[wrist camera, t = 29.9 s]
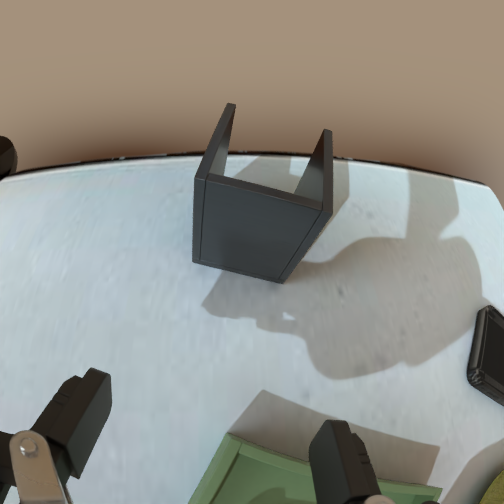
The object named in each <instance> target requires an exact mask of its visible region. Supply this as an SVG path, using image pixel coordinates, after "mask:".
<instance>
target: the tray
mask: <svg viewBox="0 0 504 504" xmlns="http://www.w3.org/2000/svg"><path fill="white" fill-rule="evenodd" d="M376 479H377V482H378V485H379V488H380V491H381V493H382V495H384V496H387V497H389V498H391V499H392V500H393V501H394V502H395V504H421V503H423V502H425V501H429V500H430V501H435V502H437V501H438V499H439V497H440V494H441V492H442V489H443V488H438V487H432V486H426V485H421V484H412V483H404V482H396V481H390V480H383V479H378V478H376ZM188 504H317V501H316V495H315V489H314V483H313V478H312V472H311V466H310V463H309V462H306V461H303V460H299V459H296V458H293V457H290V456H287V455H284V454H281V453H278V452H275V451H272V450H270V449H267V448H264V447H261V446H259V445H256V444H254V443H251V442H248V441H246V440H243V439H241V438H239V437H236V436H234V435H231V434H229V433H226V434H225V436H224V438H223V440H222V442H221V444H220V446H219V448H218V450H217V451H216V453H215V455H214V457H213V459H212V461H211V463H210V465H209V466H208V468H207V470H206V472H205V474H204V476H203V477H202V479H201V481H200V483H199V485H198V487H197V488H196V490H195V492H194V494H193V495H192V497H191V499H190V501H189V502H188Z"/></svg>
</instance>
